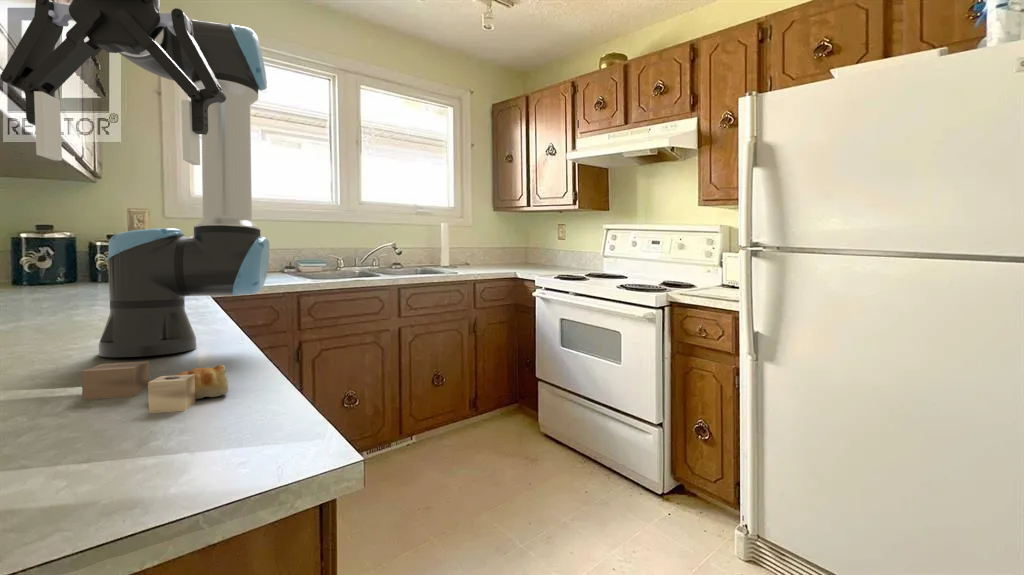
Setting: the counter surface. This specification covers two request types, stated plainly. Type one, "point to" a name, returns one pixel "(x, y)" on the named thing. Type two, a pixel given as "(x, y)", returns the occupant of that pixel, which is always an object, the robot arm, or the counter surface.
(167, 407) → the beech block
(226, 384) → the pastry
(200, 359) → the counter surface
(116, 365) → the walnut block
